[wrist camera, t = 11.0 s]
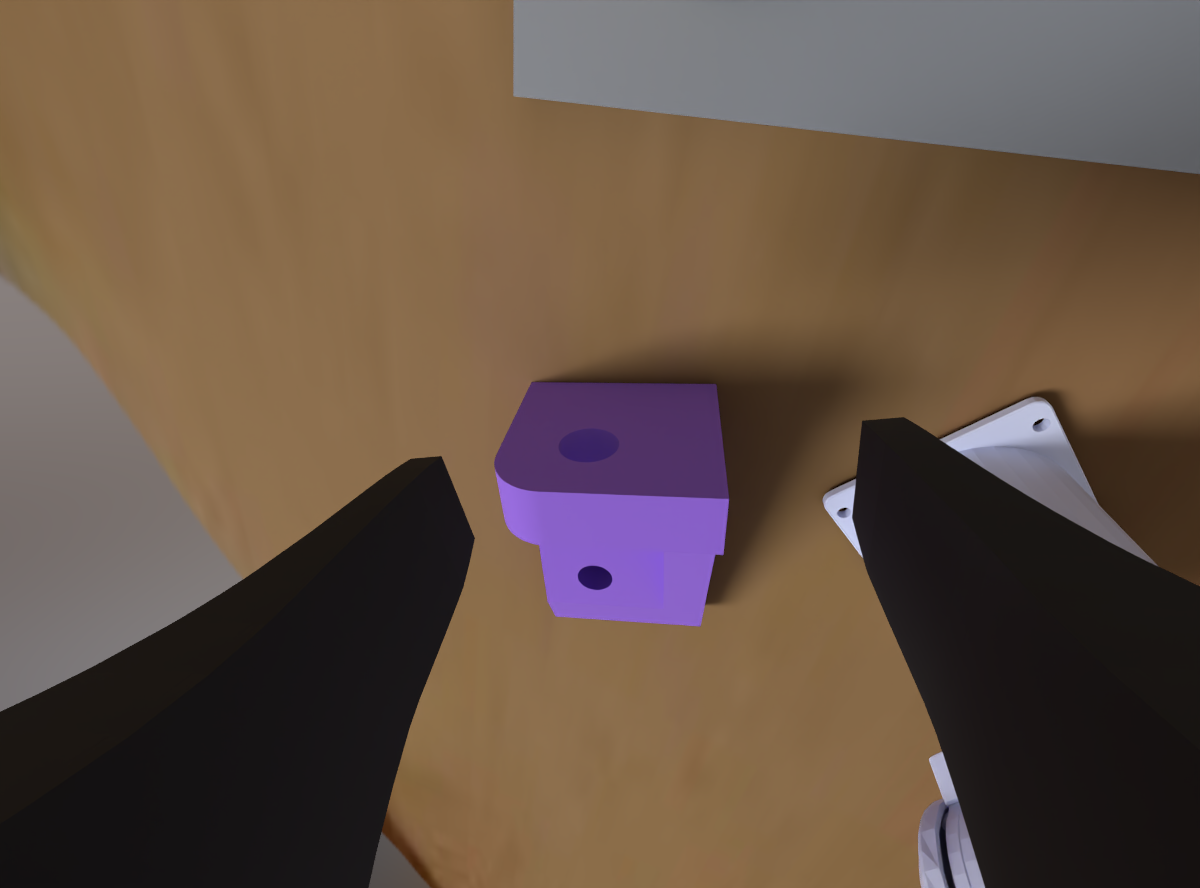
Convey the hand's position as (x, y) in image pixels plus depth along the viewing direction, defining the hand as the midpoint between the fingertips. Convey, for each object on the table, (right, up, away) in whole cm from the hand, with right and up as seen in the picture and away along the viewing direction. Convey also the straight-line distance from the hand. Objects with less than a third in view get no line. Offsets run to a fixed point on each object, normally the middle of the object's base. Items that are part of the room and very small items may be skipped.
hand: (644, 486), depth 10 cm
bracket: (0, -2, +14) cm, 15 cm away
